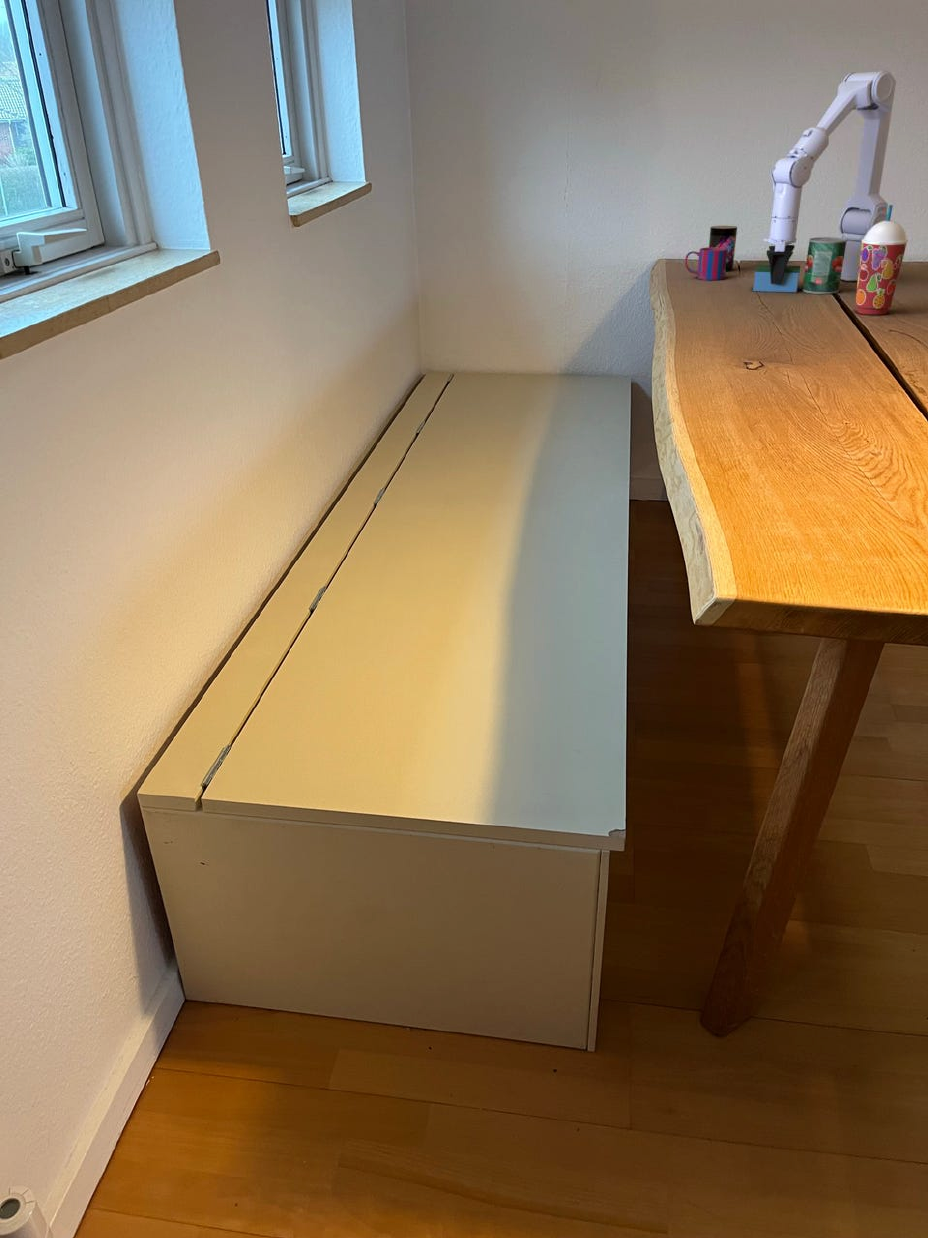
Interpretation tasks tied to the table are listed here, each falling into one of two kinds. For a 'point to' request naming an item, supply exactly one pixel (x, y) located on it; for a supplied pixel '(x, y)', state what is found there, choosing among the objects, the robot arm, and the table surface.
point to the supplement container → (724, 241)
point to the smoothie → (880, 266)
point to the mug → (710, 263)
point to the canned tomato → (824, 265)
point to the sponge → (787, 284)
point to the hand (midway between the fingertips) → (776, 280)
